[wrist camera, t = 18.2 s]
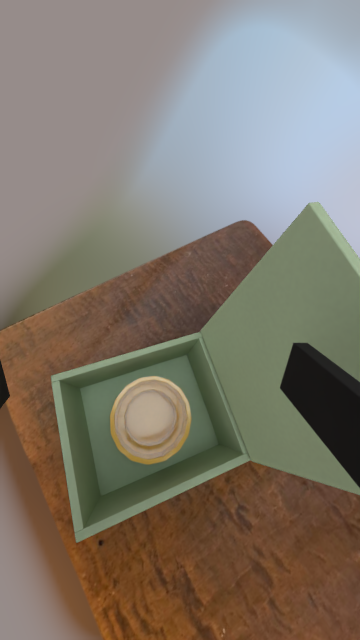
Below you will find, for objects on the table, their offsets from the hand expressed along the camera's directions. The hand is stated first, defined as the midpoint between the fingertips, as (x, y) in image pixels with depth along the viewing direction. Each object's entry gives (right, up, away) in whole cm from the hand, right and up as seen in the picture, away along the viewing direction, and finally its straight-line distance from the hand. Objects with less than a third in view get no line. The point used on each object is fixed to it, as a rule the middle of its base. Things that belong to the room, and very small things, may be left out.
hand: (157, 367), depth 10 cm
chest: (-4, -12, +24) cm, 27 cm away
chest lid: (+8, -2, +8) cm, 12 cm away
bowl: (-3, -12, +23) cm, 26 cm away
